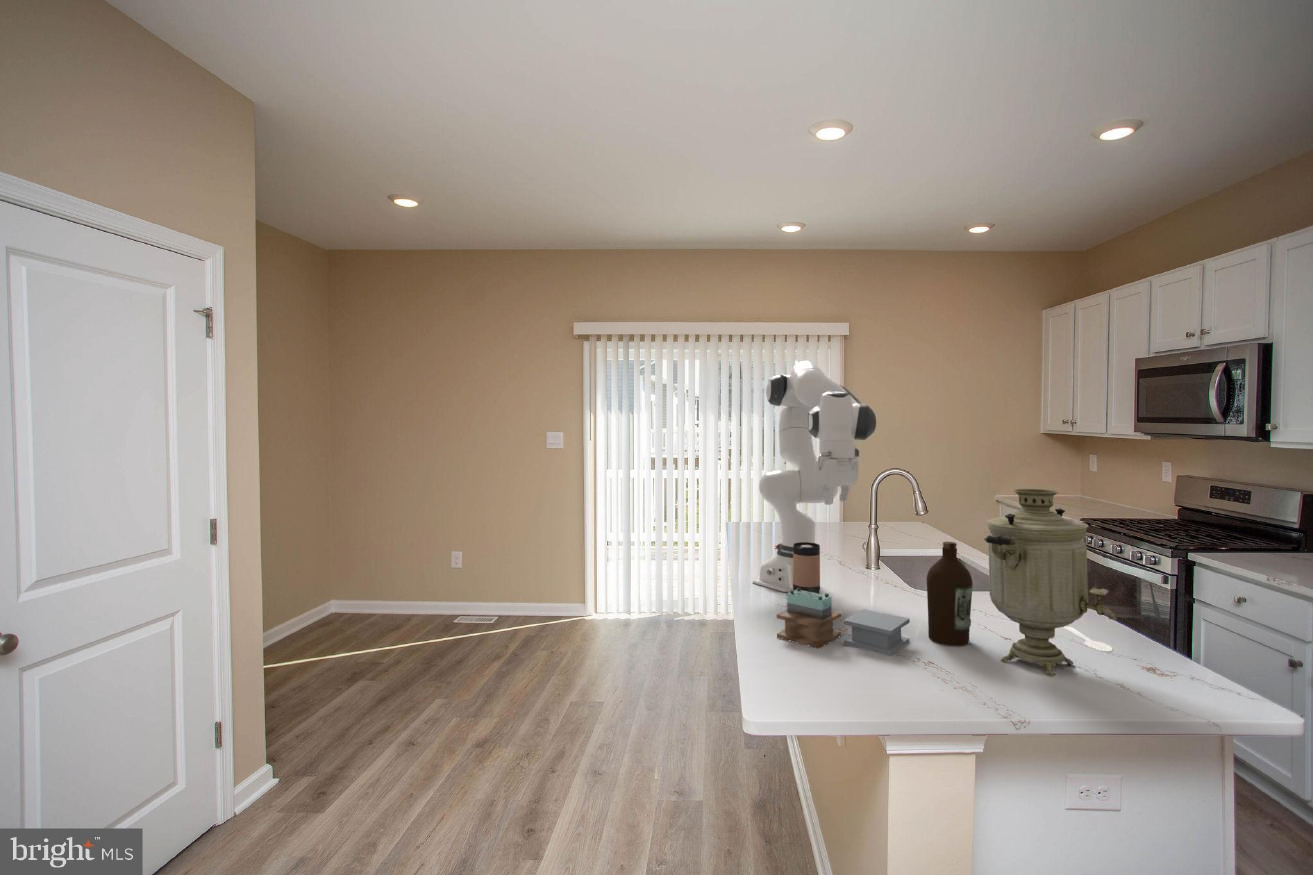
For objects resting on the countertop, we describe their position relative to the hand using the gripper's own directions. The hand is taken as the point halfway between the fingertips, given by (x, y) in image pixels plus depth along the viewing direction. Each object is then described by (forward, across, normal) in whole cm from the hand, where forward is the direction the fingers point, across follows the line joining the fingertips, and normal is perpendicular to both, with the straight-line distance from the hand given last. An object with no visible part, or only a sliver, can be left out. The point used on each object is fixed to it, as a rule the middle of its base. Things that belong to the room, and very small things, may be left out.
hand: (836, 502), depth 170 cm
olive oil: (+34, +10, -26) cm, 44 cm away
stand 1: (+34, -10, +3) cm, 36 cm away
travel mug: (+34, +7, +12) cm, 36 cm away
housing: (+28, -10, +3) cm, 30 cm away
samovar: (+35, +5, -48) cm, 59 cm away
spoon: (+35, +33, -52) cm, 71 cm away
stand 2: (+34, -4, -12) cm, 37 cm away
